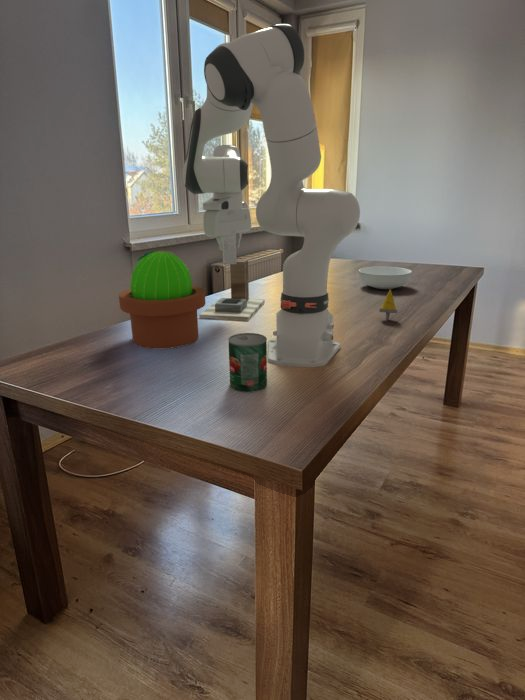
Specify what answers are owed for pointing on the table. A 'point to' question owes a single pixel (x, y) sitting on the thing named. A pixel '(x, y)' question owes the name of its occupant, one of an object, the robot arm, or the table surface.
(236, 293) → the socket board with post
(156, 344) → the potted cactus
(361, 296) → the table surface
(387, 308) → the yellow cone on disc
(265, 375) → the canned tomato
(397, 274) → the serving bowl
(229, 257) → the gray rectangular block
